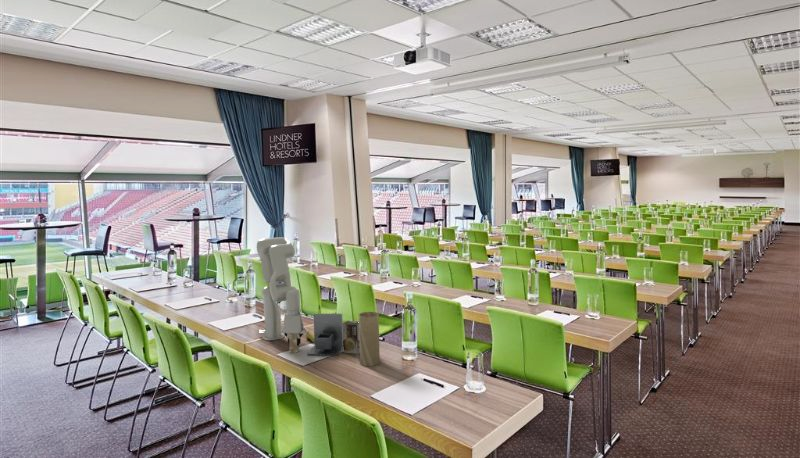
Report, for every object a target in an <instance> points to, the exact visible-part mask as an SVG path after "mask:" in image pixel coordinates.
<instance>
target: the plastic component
mask: <svg viewBox="0 0 800 458" xmlns="http://www.w3.org/2000/svg"><path fill="white" fill-rule="evenodd" d="M304 337H305V339H306V340H310V341H311V343H314V332H313V333H311V332H310V331H306V333H305V336H304Z"/></svg>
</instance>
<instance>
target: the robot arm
mask: <svg viewBox="0 0 800 458" xmlns="http://www.w3.org/2000/svg"><path fill="white" fill-rule="evenodd" d="M256 252H257V254H258V256H259V259H260V265H261V274H262V280H263V282H264V283H265V284H269V285H266V286H265V287H263V288H262V290H261V297H262V301H263V313H264V315H263V317H264V330H262V329H259V330H258V334H259V335H262V339H263V340H265V341H278V340H281V339H283V338H285V337H286V339H287V344H288V346H289V347H290V344H289V334H297V346H299V347H300V344H302V341H301V340H302V339H301V338H302V337H303V336H304V335H306V333H307V330H306V329H305V327H304V319H303V315H302V313H301V292H300V290H299V289H297V288H296V287H295V286H292V281H291V274H290V273H291V272H290V267H289V264H288V260H287V259H292V258H294V256H295V255H296V250H295V247H294V245H293V244H292V242H291V241H289V240H288V239H287V238H286V237H284V236H281V237H266V238H261V239H259V240H258V241H257V243H256ZM276 283H278V284H276ZM280 302H285V309H283V313H285V314H284V318H283V328H282V314H281V306H280V305H279V303H280Z"/></svg>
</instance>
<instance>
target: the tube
mask: <svg viewBox="0 0 800 458" xmlns="http://www.w3.org/2000/svg"><path fill="white" fill-rule="evenodd" d="M358 322H359V341H360V353H359V364H360V365H361V366H365V367H374V366H378V365H379V364H380V363H381V362H380V358H381V357H380V314H379V313H378V312H377V311H375V312H374V311H366V312H365V311H364V312H361V313H359V314H358Z"/></svg>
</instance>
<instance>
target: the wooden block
mask: <svg viewBox="0 0 800 458" xmlns="http://www.w3.org/2000/svg"><path fill="white" fill-rule="evenodd" d="M289 344H290V346H289V353H290V354H291V353H293V354H296V353H298V352H299V351H300V345H299V346H297V334H289ZM289 344H288V345H289Z"/></svg>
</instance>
